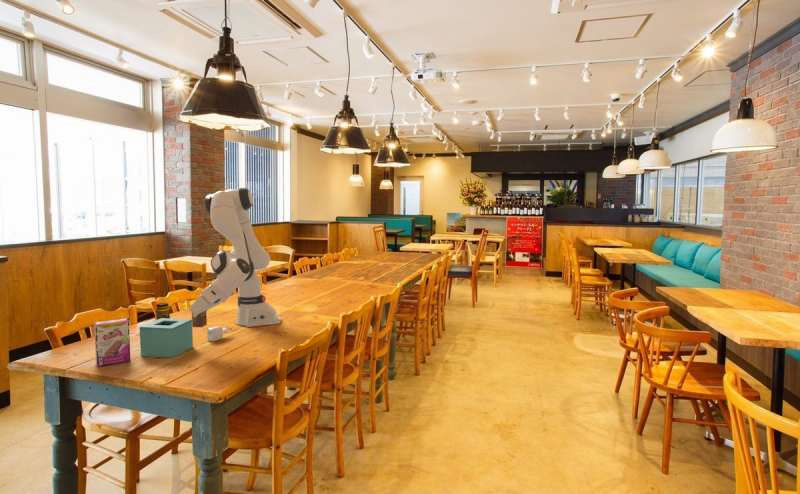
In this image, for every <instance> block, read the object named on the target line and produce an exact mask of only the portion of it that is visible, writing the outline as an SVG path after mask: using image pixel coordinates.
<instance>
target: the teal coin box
mask: <svg viewBox="0 0 800 494" xmlns="http://www.w3.org/2000/svg"><path fill="white" fill-rule="evenodd" d="M193 339H194V338H193V326H192V318H191V319H188V318H170V319H169V318H161V319H158V320H156V319H155V320H153V321H151V322H149V323H145V324H143V325H141V326H139V344H140V348H139V349H140V357H153V358H154V357H156V358H157V357H158V358H176V357H177V356H178V355H180V354H182V353H185V352H186V351H187V350H189V349H192V348H193V347H194V342H193Z"/></svg>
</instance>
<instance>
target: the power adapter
mask: <svg viewBox="0 0 800 494" xmlns="http://www.w3.org/2000/svg"><path fill="white" fill-rule="evenodd" d="M231 330H233V328H232V327H230V328H229V327H222V326H219V325H215V326H210V327H208V328H207V331H206V332H207V333H206V334H207V340H208V341H209V342H216V341H220V340H222V339H223V338H224V337H223V336H224V335H223V334H226V333H229V331H231Z"/></svg>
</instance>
